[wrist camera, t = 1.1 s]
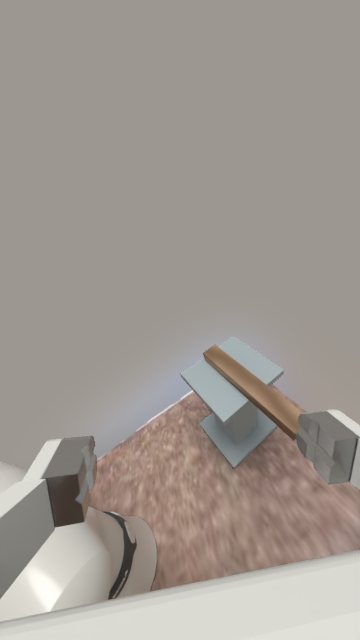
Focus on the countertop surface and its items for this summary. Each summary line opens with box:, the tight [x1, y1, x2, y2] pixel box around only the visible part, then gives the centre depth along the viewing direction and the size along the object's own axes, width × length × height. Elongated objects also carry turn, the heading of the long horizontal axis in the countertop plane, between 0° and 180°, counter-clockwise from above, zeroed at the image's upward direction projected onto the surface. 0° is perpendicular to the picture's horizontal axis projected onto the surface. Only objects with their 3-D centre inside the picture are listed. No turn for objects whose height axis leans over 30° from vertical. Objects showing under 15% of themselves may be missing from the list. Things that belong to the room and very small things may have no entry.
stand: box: [180, 336, 284, 469], centre depth 54 cm, size 16×14×26 cm
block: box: [203, 345, 302, 440], centre depth 41 cm, size 4×22×2 cm, turn 34°
